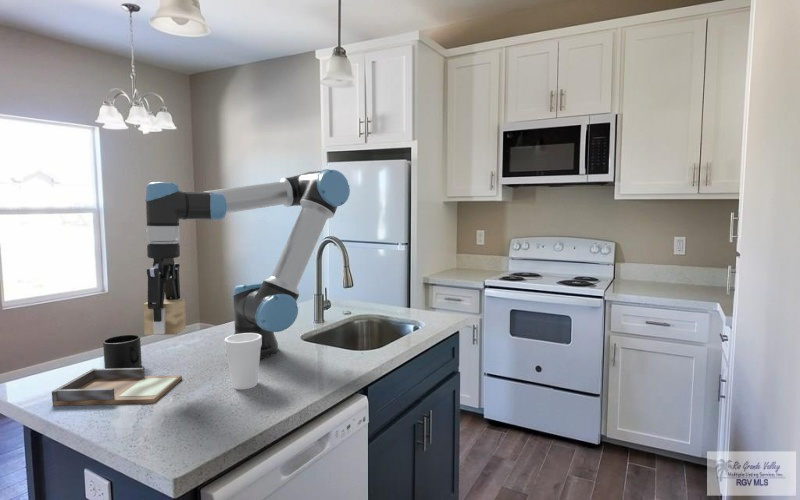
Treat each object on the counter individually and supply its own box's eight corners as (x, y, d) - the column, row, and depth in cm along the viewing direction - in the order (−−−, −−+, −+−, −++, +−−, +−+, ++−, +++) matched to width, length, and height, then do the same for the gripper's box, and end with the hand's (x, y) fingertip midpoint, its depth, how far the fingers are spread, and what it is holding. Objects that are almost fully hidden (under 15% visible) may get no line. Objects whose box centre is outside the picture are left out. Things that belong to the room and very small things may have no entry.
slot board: (181, 378, 128) (181, 366, 128) (153, 403, 112) (153, 389, 112) (93, 380, 127) (92, 368, 127) (52, 405, 111) (51, 391, 111)
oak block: (185, 328, 124) (185, 299, 123) (176, 334, 118) (175, 303, 117) (155, 328, 123) (154, 299, 123) (144, 334, 117) (143, 303, 117)
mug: (123, 377, 129) (121, 346, 129) (97, 371, 135) (95, 341, 134) (154, 367, 138) (152, 337, 137) (128, 361, 143) (127, 333, 142)
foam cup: (228, 394, 117) (226, 344, 116) (224, 382, 125) (222, 335, 124) (266, 387, 121) (265, 339, 120) (259, 376, 130) (258, 331, 128)
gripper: (165, 240, 128) (167, 322, 130) (129, 244, 109) (131, 340, 111) (192, 240, 128) (194, 322, 130) (161, 244, 109) (163, 340, 111)
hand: (165, 330), depth 120 cm, fingers closed on oak block, 6 cm apart
